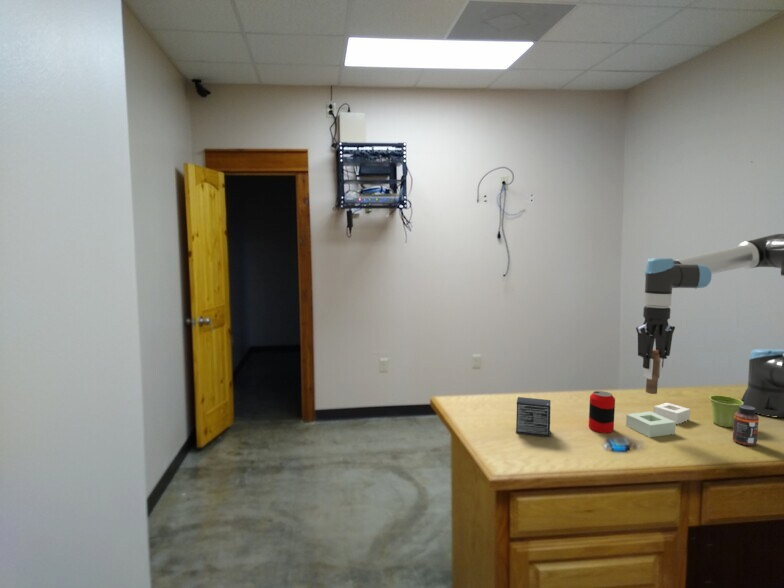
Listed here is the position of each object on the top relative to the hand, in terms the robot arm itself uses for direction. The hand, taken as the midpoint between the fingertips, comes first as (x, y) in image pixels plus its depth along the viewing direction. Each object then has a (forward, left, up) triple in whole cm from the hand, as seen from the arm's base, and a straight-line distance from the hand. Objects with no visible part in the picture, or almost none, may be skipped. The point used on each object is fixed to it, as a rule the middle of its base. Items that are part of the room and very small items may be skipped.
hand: (652, 377), depth 151 cm
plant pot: (-28, +3, -18) cm, 34 cm away
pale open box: (0, 0, -18) cm, 18 cm away
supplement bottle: (-20, +16, -18) cm, 31 cm away
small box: (+38, -9, -18) cm, 43 cm away
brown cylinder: (0, 0, -5) cm, 5 cm away
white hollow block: (-15, -6, -18) cm, 24 cm away
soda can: (+15, -5, -18) cm, 24 cm away
